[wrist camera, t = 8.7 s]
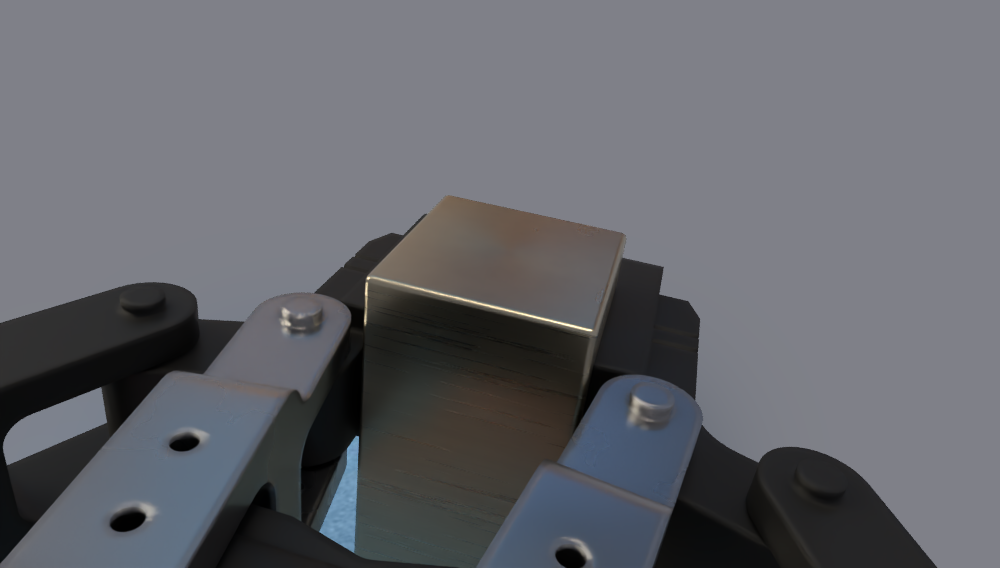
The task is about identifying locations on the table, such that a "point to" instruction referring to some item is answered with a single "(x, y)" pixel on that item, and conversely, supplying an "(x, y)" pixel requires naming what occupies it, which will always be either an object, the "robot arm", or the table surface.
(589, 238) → the knife
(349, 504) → the table surface
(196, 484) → the robot arm
